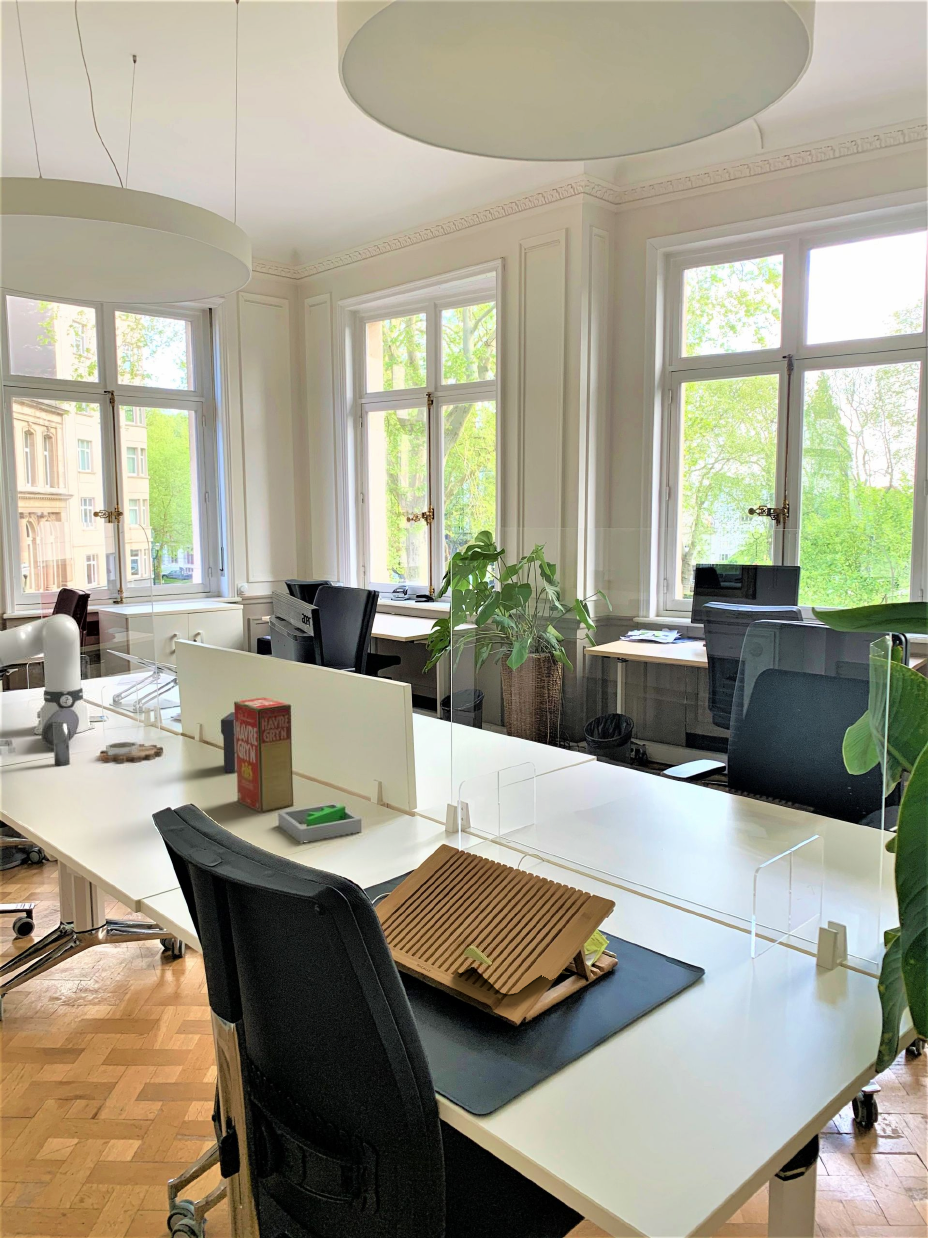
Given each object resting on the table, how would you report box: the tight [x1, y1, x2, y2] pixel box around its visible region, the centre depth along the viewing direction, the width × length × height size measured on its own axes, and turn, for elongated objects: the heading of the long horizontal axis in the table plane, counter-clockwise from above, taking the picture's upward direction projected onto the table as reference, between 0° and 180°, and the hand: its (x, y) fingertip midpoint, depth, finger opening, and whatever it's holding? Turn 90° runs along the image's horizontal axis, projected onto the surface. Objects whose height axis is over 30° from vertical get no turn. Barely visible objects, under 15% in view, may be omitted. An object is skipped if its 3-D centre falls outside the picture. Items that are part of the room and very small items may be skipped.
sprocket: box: [98, 741, 164, 764], centre depth 266 cm, size 18×18×4 cm
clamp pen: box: [277, 802, 362, 843], centre depth 199 cm, size 14×14×3 cm
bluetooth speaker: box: [40, 708, 79, 749], centre depth 282 cm, size 23×9×10 cm, turn 17°
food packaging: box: [233, 697, 294, 813], centre depth 217 cm, size 13×9×25 cm
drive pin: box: [53, 722, 71, 767], centre depth 256 cm, size 4×4×12 cm
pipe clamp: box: [305, 805, 346, 827], centre depth 198 cm, size 11×4×5 cm, turn 145°
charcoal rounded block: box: [220, 711, 237, 774], centre depth 251 cm, size 11×4×15 cm, turn 179°
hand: (13, 745), depth 249 cm, fingers open, 8 cm apart
